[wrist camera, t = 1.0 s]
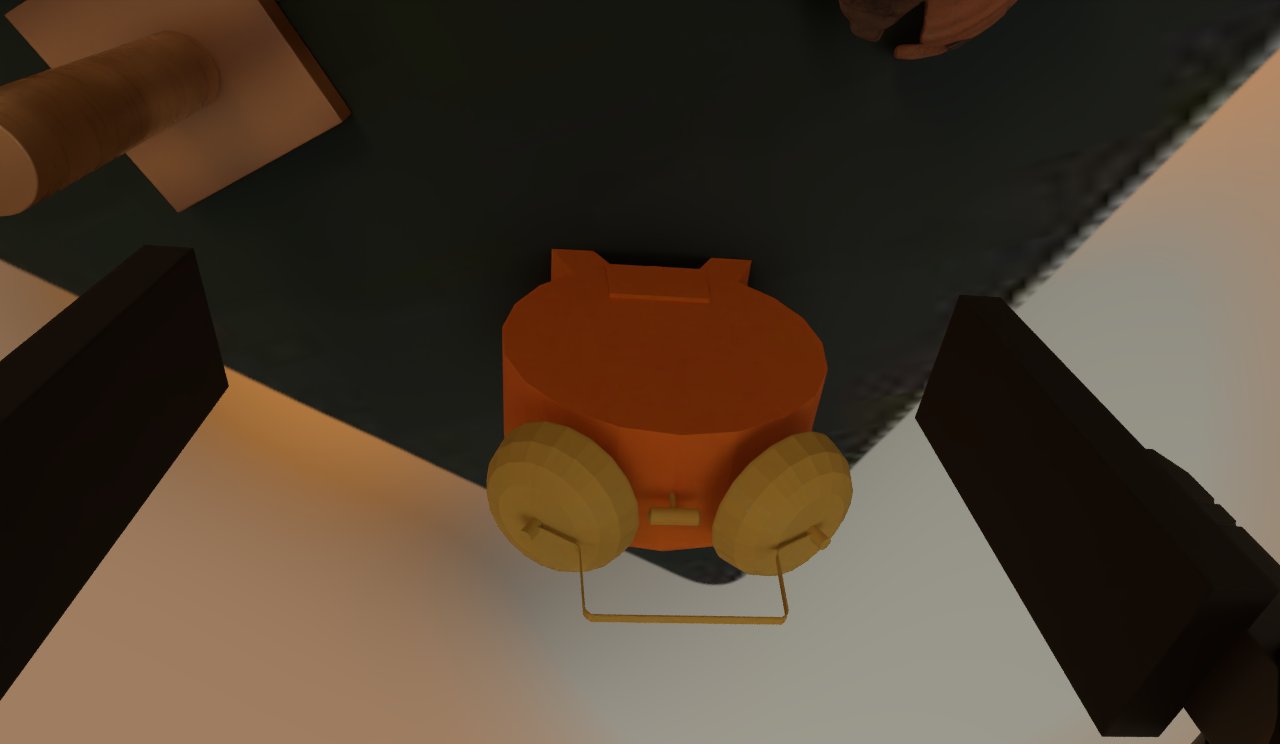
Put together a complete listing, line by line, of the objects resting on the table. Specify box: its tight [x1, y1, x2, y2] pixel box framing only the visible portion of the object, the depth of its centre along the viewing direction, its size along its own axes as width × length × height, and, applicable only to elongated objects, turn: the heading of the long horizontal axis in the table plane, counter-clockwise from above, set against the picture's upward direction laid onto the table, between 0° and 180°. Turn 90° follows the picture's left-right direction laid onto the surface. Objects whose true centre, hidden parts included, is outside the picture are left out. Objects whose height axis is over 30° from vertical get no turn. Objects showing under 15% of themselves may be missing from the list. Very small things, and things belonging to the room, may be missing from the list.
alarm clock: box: [487, 249, 853, 624], centre depth 30 cm, size 13×6×20 cm, turn 85°
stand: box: [0, 0, 351, 216], centre depth 26 cm, size 9×9×14 cm
